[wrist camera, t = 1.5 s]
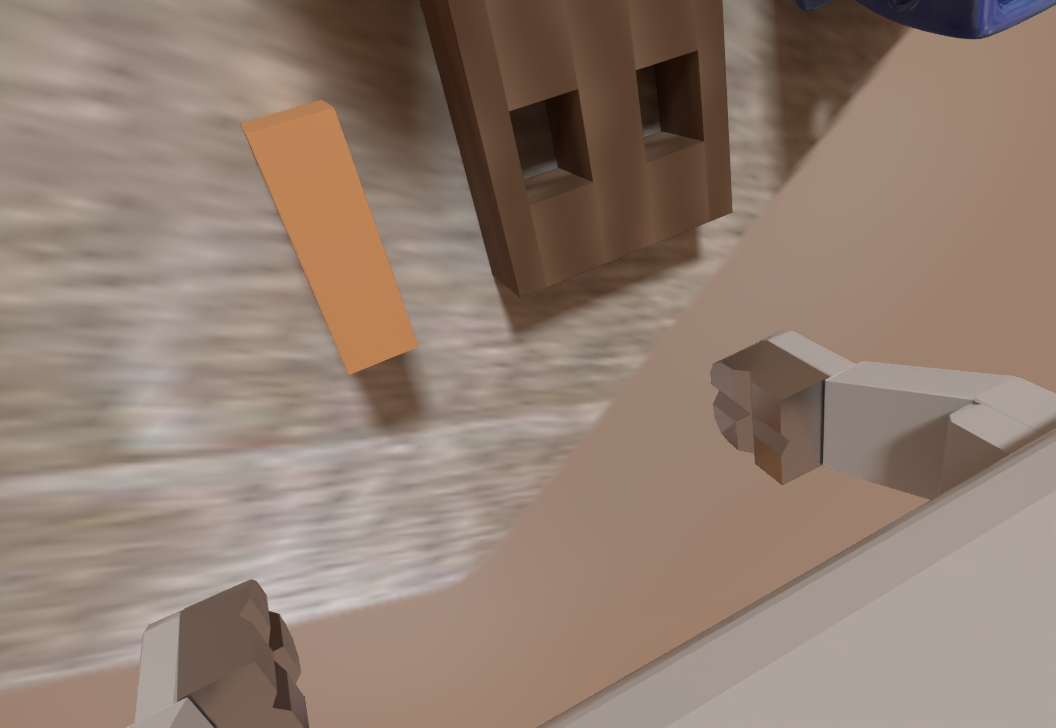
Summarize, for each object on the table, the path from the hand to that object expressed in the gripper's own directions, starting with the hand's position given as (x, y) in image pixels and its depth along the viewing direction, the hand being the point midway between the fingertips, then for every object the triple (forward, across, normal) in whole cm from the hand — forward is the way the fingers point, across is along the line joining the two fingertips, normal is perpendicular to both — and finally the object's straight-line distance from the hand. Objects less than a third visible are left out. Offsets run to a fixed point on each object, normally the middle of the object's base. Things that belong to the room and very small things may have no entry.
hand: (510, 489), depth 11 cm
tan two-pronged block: (+22, 0, 0) cm, 22 cm away
